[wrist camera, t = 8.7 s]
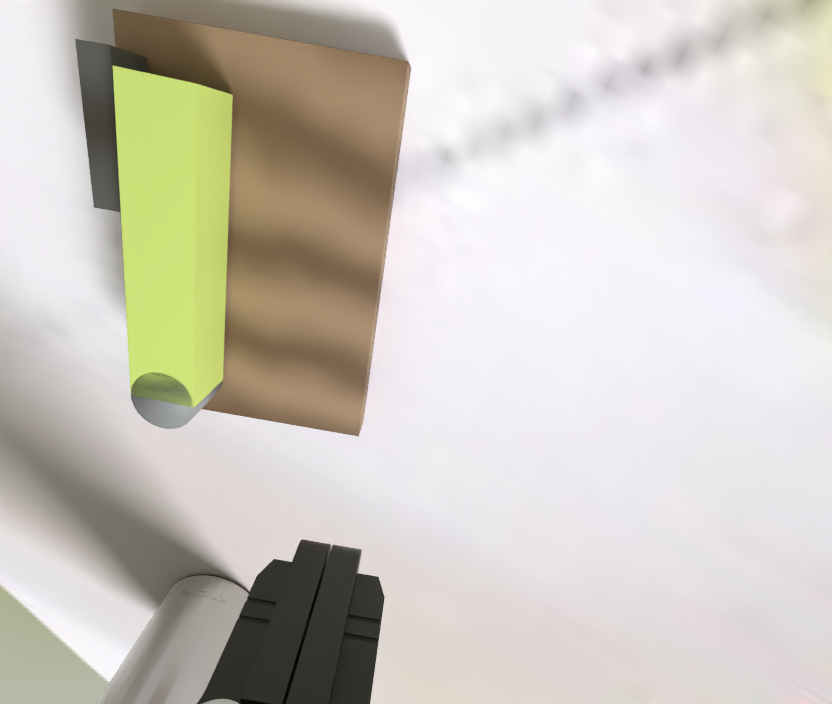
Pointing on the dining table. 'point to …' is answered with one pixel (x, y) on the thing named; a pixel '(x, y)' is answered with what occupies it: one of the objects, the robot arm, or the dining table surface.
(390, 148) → the board
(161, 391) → the yellow-green long bar
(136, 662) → the robot arm
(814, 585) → the dining table surface
